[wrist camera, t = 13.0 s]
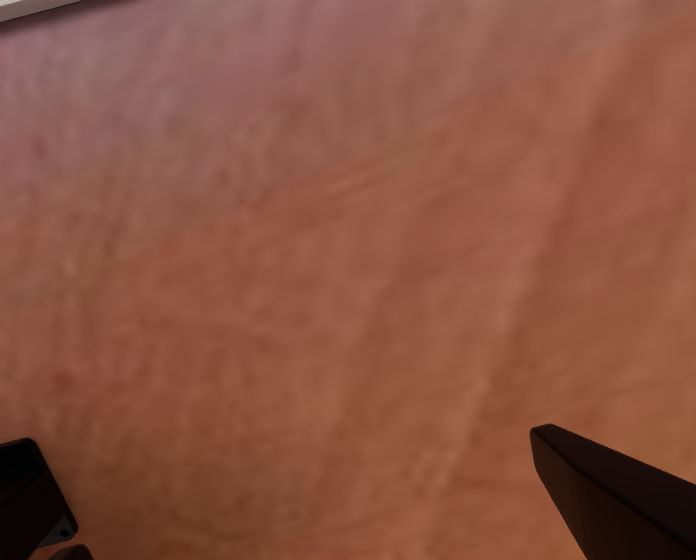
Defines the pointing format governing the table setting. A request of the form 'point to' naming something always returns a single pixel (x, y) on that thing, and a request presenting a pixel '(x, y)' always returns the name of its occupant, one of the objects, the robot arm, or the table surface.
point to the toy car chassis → (27, 7)
